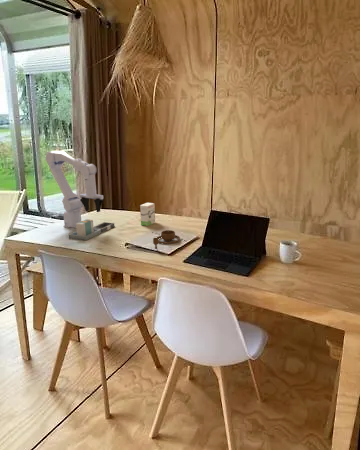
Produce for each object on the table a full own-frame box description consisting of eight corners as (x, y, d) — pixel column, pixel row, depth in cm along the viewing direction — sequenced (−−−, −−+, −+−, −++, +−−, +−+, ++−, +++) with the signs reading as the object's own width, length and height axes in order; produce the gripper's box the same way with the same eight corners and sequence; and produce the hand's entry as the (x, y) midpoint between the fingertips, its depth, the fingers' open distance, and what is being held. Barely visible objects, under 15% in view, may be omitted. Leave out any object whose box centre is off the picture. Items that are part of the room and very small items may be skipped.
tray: (69, 238, 191) (68, 234, 190) (85, 230, 202) (84, 227, 202) (85, 240, 186) (85, 236, 186) (101, 232, 198) (101, 229, 198)
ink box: (147, 226, 209) (147, 206, 206) (140, 225, 211) (139, 205, 208) (155, 222, 217) (154, 202, 213) (148, 221, 219) (147, 202, 215)
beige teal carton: (77, 236, 191) (75, 223, 189) (87, 231, 199) (86, 218, 197) (83, 237, 190) (82, 224, 188) (93, 232, 198) (92, 219, 196)
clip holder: (91, 231, 202) (91, 227, 201) (104, 225, 212) (103, 222, 212) (103, 232, 199) (102, 228, 199) (114, 226, 210) (114, 223, 209)
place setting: (188, 243, 181) (188, 231, 180) (156, 252, 169) (155, 240, 168) (167, 235, 194) (167, 224, 193) (135, 243, 182) (134, 232, 181)
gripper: (74, 187, 198) (77, 212, 202) (96, 188, 192) (99, 214, 196) (83, 185, 204) (85, 209, 208) (104, 186, 198) (107, 211, 202)
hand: (92, 211), depth 202 cm, fingers open, 7 cm apart
